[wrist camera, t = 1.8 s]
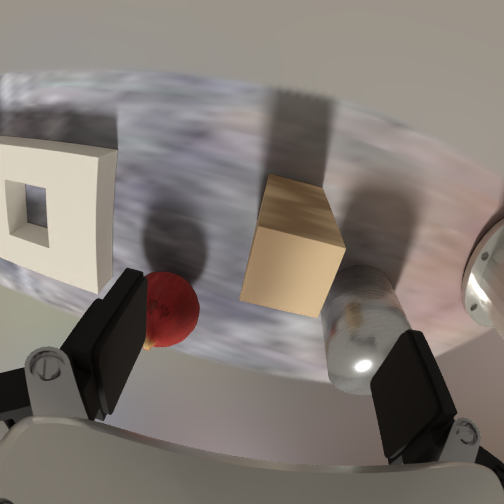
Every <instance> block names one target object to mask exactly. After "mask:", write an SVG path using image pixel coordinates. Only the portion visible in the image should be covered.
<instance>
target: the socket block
mask: <svg viewBox="0 0 504 504" xmlns="http://www.w3.org/2000/svg"><path fill="white" fill-rule="evenodd" d="M117 154H118V150H115V149H108V148H102V147H95V146H88V145H81V144H74V143H66V142H58V141H50V140H41V139H31V138H21V137H10V136H0V257H1V258H3V259H6V260H8V261H11V262H13V263H15V264H18V265H20V266H23V267H25V268H28V269H30V270H33V271H35V272H38V273H41V274H43V275H46V276H48V277H51V278H54V279H56V280H59V281H62V282H65V283H67V284H70V285H73V286H76V287H79V288H82V289H84V290H87V291H90V292H93V293H96V294H99V293H100V291H101V290H102V289H103V288H104V286H105V285H106V284H107V283H108V282H109V280H110V279H111V278H112V277H113V269H112V241H113V208H114V190H115V176H116V164H117ZM25 184H29V185H34V186H38V187H43V188H46V205H47V224H48V229H47V228H44V227H41V226H37V225H34V224H31V223H28V221H27V208H26V189H25Z"/></svg>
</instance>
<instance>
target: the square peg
mask: <svg viewBox="0 0 504 504" xmlns="http://www.w3.org/2000/svg"><path fill="white" fill-rule="evenodd" d="M345 250H346V247H345V244H344V242H343V239H342V236H341V234H340V231H339V228H338V226H337V223H336V220H335V218H334V215H333V213H332V210H331V208H330V205H329V203H328V200H327V198H326V195H325V193H324V190H323V188H321V187H318V186H314V185H311V184H307V183H303V182H300V181H296V180H292V179H288V178H285V177H281V176H277V175H273V174H269V176H268V180H267V184H266V188H265V192H264V196H263V200H262V204H261V208H260V212H259V216H258V220H257V224H256V228H255V233H254V237H253V241H252V246H251V250H250V254H249V259H248V263H247V268H246V272H245V276H244V281H243V285H242V290H241V294H240V299H239V300H241V301H245V302H249V303H253V304H257V305H261V306H266V307H270V308H274V309H279V310H283V311H287V312H292V313H296V314H301V315H305V316H310V317H315V318H318V316H319V313H320V311H321V309H322V306H323V304H324V302H325V299H326V297H327V295H328V292H329V290H330V288H331V285H332V283H333V280H334V278H335V275H336V273H337V270H338V268H339V266H340V263H341V260H342V258H343V255H344V253H345Z"/></svg>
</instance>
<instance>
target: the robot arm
mask: <svg viewBox="0 0 504 504" xmlns="http://www.w3.org/2000/svg"><path fill="white" fill-rule="evenodd" d="M147 288H148V278H147V277H144V276H143V272H141V271H138V270H134V269H130V268H126V269H125V271H124V272H123V273H122V274H121V276H120V277H119V278H118V280H117V281H116V282H115V284H114V285H113V286H112V288H111V289H110V290H109V292H108V293H107V294H106V296H105V297H104V299H103V300H102V299H99V298H98V299H96V300H95V301H94V302H93V303H92V304H91V306H90V307H89V308H88V310H87V311H86V312H85V314H84V315H83V317H82V318H81V319H80V321H79V322H78V323H77V325H76V326H75V328H74V329H73V330H72V332H71V333H70V335H69V336H68V338H67V339H66V341H65V342H64V343H63V345H62V346H61V348H60V349H58V348H54V347H41V348H39V349H36V350H34V351H33V352H31V353H30V355H29V356H28V357H27V359H26V361H25V367H24V368H19V369H15V370H11V371H7V372H3V373H0V504H504V464H503V463H502V462H501V461H500V460H498V459H497V458H496V457H494V456H493V455H492V454H490V453H489V452H488V451H487V450H485V449H483V447H481V446H480V441H481V436H480V431H479V429H478V427H477V426H476V425H475V424H474V423H473V422H472V421H471V420H469V419H467V418H458V419H457V420H454V416H455V415H456V414H457V410H456V408H455V406H454V403H453V400H452V398H451V395H450V393H449V390H448V388H447V386H446V383H445V381H444V379H443V376H442V374H441V372H440V369H439V367H438V365H437V363H436V360H435V358H434V356H433V354H432V352H431V349H430V347H429V345H428V343H427V341H426V339H425V337H424V335H423V333H422V332H421V331H416V330H410V329H408V330H406V331H405V332H403V333H402V334H401V335H400V336H399V338H398V340H397V341H396V343H395V344H394V346H393V347H392V349H391V351H390V352H389V354H388V355H387V357H386V358H385V360H384V361H383V363H382V364H381V366H380V367H379V369H378V370H377V372H376V373H375V374H374V376H373V377H372V379H371V382H370V389H371V393H372V397H373V401H374V406H375V410H376V415H377V420H378V425H379V430H380V435H381V440H382V445H383V450H384V455H385V457H386V458H388V463H389V465H382V466H328V465H327V466H325V465H308V464H294V463H284V462H274V461H266V460H258V459H251V458H244V457H238V456H231V455H226V454H220V453H215V452H210V451H205V450H200V449H196V448H191V447H187V446H183V445H178V444H175V443H171V442H166V441H163V440H159V439H155V438H151V437H148V436H144V435H141V434H137V433H134V432H131V431H128V430H124V429H121V428H117V427H114V426H110V425H107V424H104V423H100V422H96V421H94V420H95V418H96V419H99V420H102V421H104V419H105V417H106V415H107V414H109V415H111V414H112V413H113V411H114V409H115V406H116V404H117V402H118V399H119V397H120V395H121V393H122V390H123V388H124V386H125V383H126V381H127V379H128V377H129V374H130V372H131V370H132V368H133V366H134V364H135V361H136V359H137V357H138V355H139V353H140V351H141V348H142V347H143V344H144V342H145V338H146V317H147ZM462 301H463V304H464V308H465V310H466V311H467V313H468V315H469V316H470V318H471V319H472V320H473V321H474V322H475V323H477V324H478V325H480V326H484V327H495V328H496V329H497V331H498V332H499V334H500V335H501V337H502V338H503V340H504V218H503V219H502V220H500V221H499V222H498V223H497V224H495V225H494V226H493V227H492V228H491V229H490V230H489V231H488V232H487V233H486V234H485V235H484V237H483V238H482V240H481V241H480V242H479V244H478V245H477V247H476V248H475V250H474V252H473V254H472V256H471V257H470V260H469V262H468V265H467V267H466V270H465V274H464V277H463V283H462ZM402 463H403V464H402Z"/></svg>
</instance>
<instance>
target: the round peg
mask: <svg viewBox="0 0 504 504" xmlns="http://www.w3.org/2000/svg"><path fill="white" fill-rule="evenodd" d="M320 312H321V319H322V327H323V335H324V343H325V351H326V360H327V369H328V376H329V379H330V381H331V383H332V384H333V385H334V386H335V387H336V388H338V389H339V390H341V391H343V392H346V393H349V394H354V395H368V394H372V393H371V389H370V382H371V379H372V377H373V376H374V374H375V373H376V372H377V370H378V369H379V367H380V366H381V364H382V363H383V361H384V360H385V358H386V357H387V355H388V354H389V352H390V351H391V349H392V347H393V346H394V344H395V343H396V341H397V340H398V338H399V336H400V335H401V334H402V333H403V332H405V331H406V330H408V329H410V330H412V328H411V326H410V324H409V322H408V319H407V317H406V315H405V313H404V311H403V309H402V306H401V304H400V302H399V300H398V298H397V296H396V294H395V292H394V290H393V288H392V286H391V284H390V281H389V279H388V278H387V277H386V276H385V275H384V274H383V273H382V272H381V271H379V270H377V269H375V268H372V267H368V266H355V267H350V268H347V269H344V270H342V271H340V272H338V273H337V274H336V275H335V278H334V280H333V283H332V285H331V288H330V290H329V292H328V295H327V297H326V299H325V302H324V304H323V306H322V309H321V311H320Z"/></svg>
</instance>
